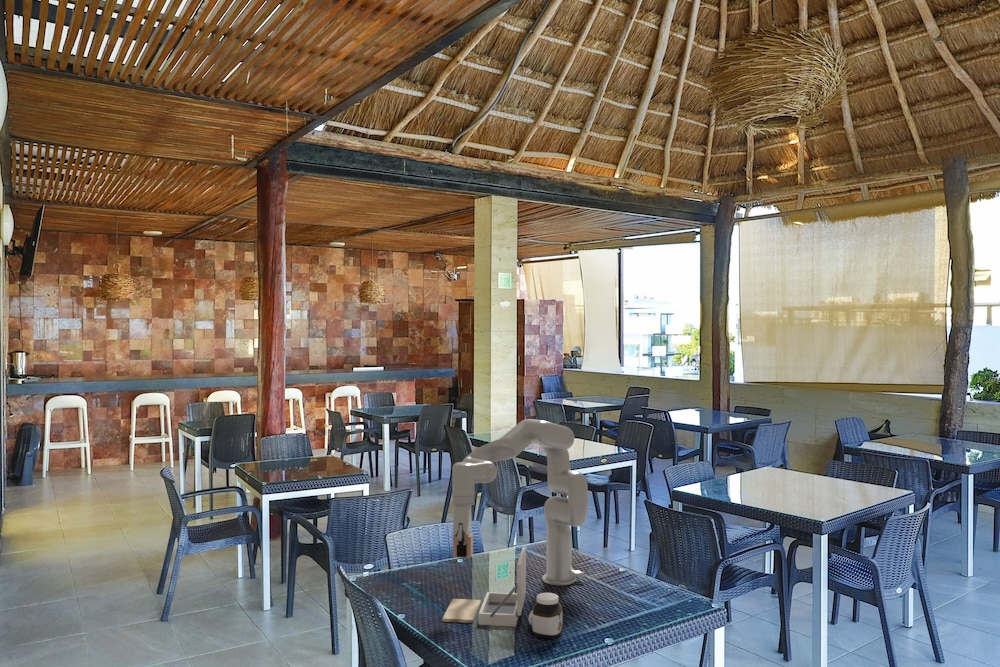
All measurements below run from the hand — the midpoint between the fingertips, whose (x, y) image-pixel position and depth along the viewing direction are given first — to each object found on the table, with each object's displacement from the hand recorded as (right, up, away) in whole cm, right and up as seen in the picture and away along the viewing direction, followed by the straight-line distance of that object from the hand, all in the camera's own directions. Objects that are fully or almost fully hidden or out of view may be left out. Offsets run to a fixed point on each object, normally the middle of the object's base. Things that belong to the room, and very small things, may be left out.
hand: (463, 553), depth 237 cm
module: (0, -1, 0) cm, 1 cm away
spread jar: (+26, -20, -17) cm, 37 cm away
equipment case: (+13, -20, -2) cm, 23 cm away
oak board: (0, -19, 0) cm, 19 cm away
